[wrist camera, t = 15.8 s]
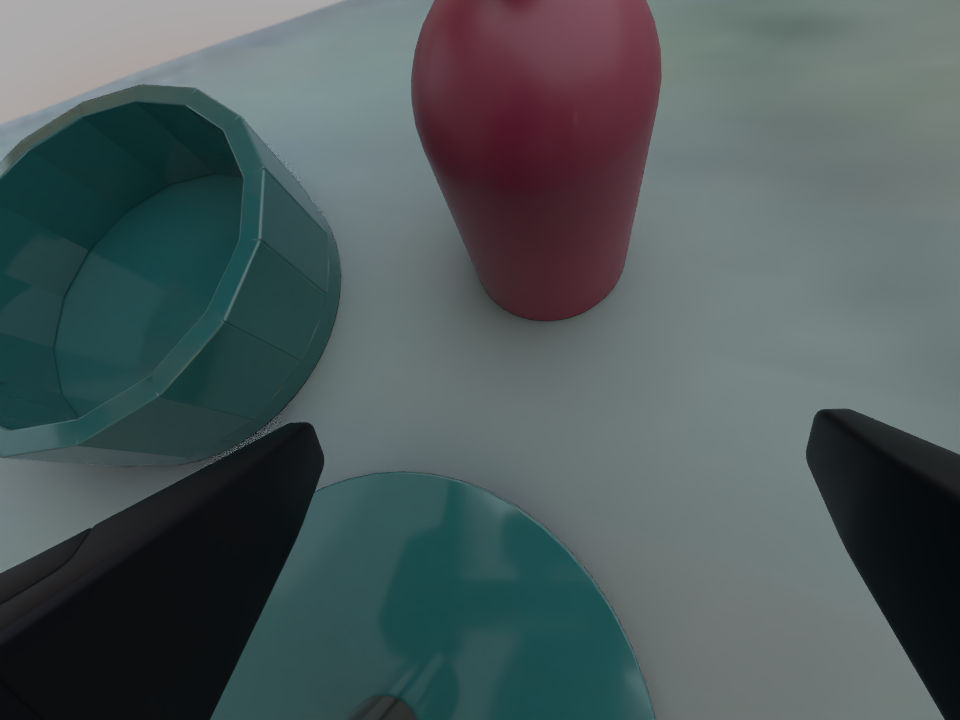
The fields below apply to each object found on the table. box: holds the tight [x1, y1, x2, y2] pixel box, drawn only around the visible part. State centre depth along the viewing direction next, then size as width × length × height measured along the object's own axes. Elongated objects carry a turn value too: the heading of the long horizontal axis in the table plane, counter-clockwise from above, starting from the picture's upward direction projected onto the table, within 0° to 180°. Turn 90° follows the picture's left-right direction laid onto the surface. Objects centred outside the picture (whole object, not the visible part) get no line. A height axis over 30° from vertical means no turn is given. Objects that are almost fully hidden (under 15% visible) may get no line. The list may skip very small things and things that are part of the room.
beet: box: [411, 0, 661, 321], centre depth 12 cm, size 6×6×11 cm
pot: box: [0, 84, 341, 467], centre depth 17 cm, size 14×14×5 cm
